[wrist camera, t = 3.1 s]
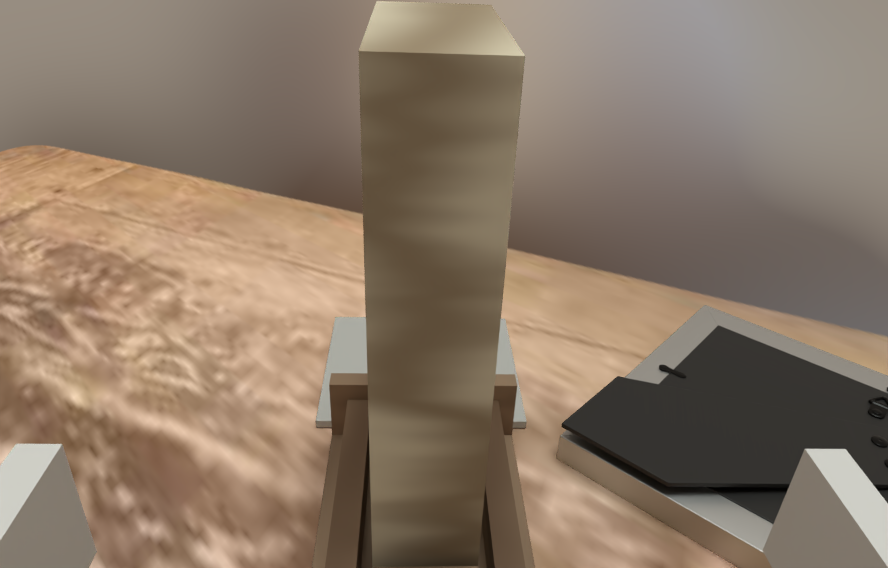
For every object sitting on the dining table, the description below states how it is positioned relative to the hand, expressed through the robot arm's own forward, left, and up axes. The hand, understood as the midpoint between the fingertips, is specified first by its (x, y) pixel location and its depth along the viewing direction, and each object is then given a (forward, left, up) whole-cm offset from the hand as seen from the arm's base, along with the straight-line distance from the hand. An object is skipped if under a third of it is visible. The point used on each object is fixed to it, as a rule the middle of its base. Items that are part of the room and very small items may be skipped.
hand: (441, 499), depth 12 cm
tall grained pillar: (0, -10, -11) cm, 15 cm away
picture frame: (-19, -12, -13) cm, 26 cm away
